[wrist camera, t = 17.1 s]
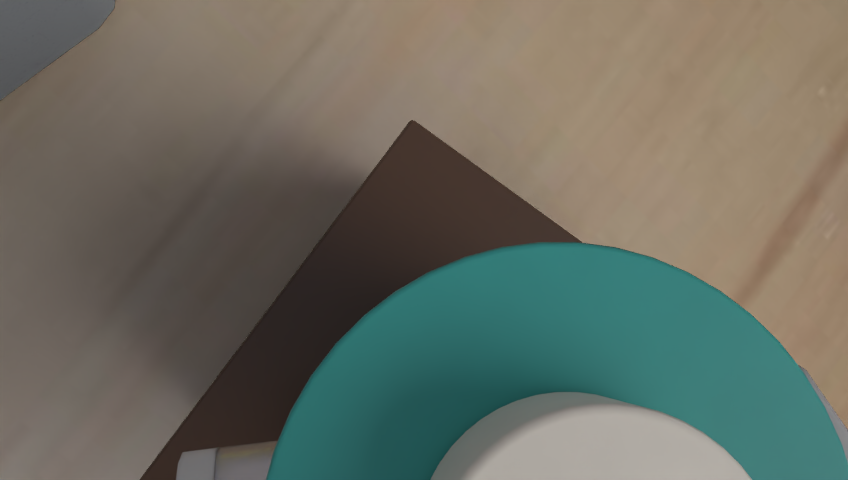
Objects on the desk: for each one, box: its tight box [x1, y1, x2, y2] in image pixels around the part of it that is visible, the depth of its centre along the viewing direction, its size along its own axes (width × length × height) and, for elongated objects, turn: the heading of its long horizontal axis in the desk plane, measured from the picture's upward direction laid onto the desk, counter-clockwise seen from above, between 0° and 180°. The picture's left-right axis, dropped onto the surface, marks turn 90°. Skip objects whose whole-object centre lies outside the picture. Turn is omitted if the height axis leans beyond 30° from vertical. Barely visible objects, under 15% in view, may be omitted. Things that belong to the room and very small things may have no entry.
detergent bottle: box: [266, 242, 848, 480], centre depth 12 cm, size 6×6×12 cm
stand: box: [140, 120, 582, 480], centre depth 22 cm, size 10×10×9 cm
